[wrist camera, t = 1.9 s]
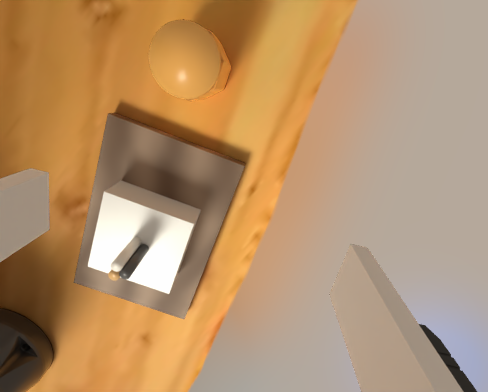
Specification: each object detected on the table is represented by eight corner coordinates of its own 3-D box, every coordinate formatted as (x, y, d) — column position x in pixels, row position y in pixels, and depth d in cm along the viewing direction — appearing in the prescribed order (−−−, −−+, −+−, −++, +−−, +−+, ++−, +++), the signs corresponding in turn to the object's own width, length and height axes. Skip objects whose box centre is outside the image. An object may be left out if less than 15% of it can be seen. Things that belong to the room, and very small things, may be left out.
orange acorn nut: (169, 84, 31) (141, 83, 24) (184, 28, 30) (158, 7, 22) (218, 104, 32) (206, 109, 24) (237, 50, 30) (229, 37, 22)
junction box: (104, 248, 37) (59, 294, 29) (121, 180, 34) (75, 210, 26) (177, 274, 38) (154, 326, 30) (200, 209, 35) (182, 247, 26)
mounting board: (80, 275, 41) (73, 282, 40) (114, 112, 33) (108, 113, 31) (186, 311, 42) (184, 319, 41) (245, 163, 34) (244, 166, 33)
